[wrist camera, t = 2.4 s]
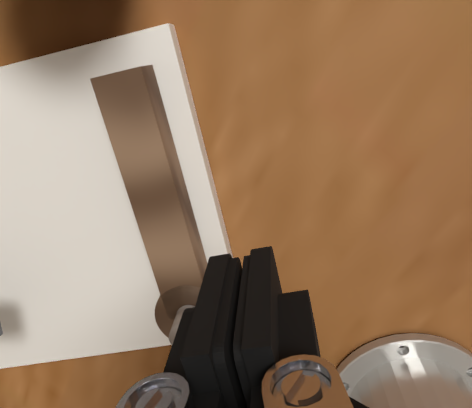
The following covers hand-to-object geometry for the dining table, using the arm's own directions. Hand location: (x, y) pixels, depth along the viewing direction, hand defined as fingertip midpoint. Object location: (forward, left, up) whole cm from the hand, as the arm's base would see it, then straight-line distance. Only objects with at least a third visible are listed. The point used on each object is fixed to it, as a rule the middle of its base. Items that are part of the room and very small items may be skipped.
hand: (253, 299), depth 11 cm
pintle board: (-2, +15, -18) cm, 24 cm away
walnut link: (-2, +7, -16) cm, 18 cm away
